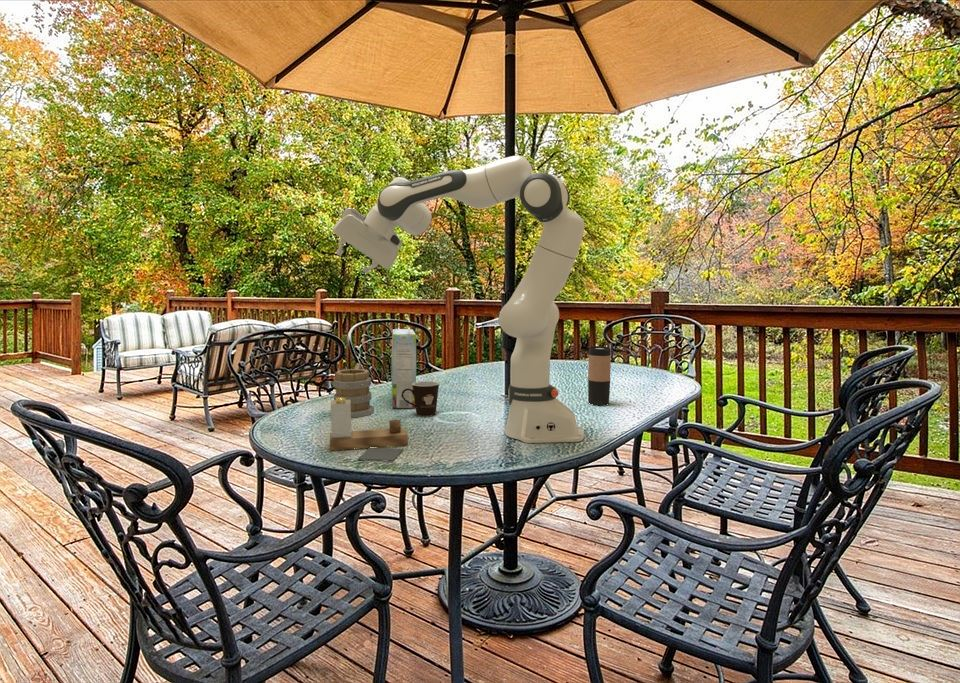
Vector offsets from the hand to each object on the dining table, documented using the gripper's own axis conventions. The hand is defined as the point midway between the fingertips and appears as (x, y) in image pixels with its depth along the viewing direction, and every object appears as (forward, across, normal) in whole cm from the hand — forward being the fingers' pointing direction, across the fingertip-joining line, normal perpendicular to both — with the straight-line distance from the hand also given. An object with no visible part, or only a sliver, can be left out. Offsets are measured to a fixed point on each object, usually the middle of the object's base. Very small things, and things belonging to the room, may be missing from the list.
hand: (351, 263), depth 167 cm
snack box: (+32, +47, +11) cm, 57 cm away
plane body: (+35, +23, -35) cm, 55 cm away
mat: (+32, +23, -45) cm, 60 cm away
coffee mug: (+28, +45, -8) cm, 54 cm away
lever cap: (+37, +16, -33) cm, 52 cm away
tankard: (+41, +31, +5) cm, 51 cm away
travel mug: (-9, +95, -17) cm, 97 cm away
